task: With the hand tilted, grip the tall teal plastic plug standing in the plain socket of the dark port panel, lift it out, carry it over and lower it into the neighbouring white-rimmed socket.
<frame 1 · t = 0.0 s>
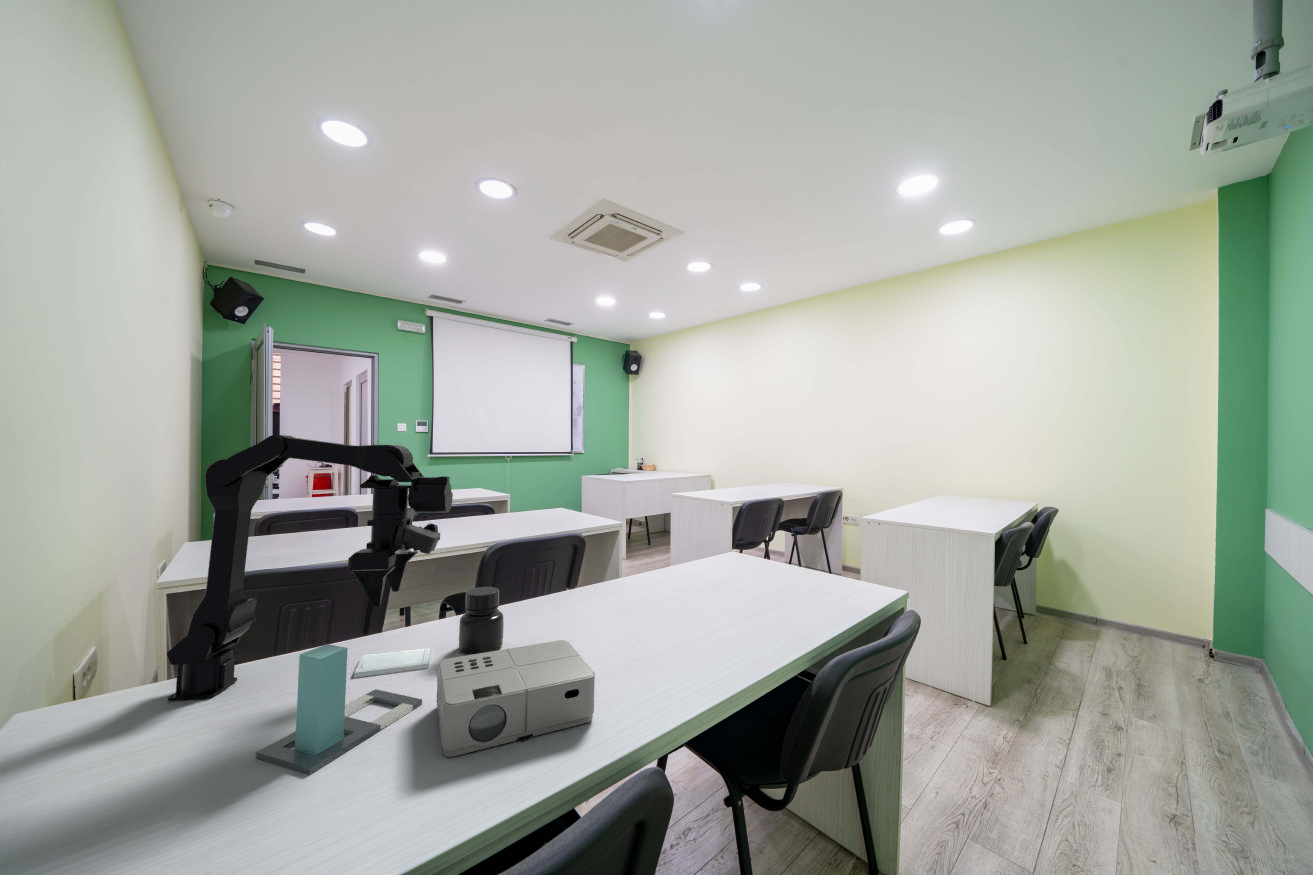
hand: (386, 598, 87), 15 cm above the table, tool pointing down, fingers open, 9 cm apart
port panel: (347, 728, 71), on the table
projector: (513, 716, 76), on the table
ink bottle: (480, 648, 102), on the table
plug: (319, 744, 67), resting in port panel
hard drive: (394, 667, 93), on the table
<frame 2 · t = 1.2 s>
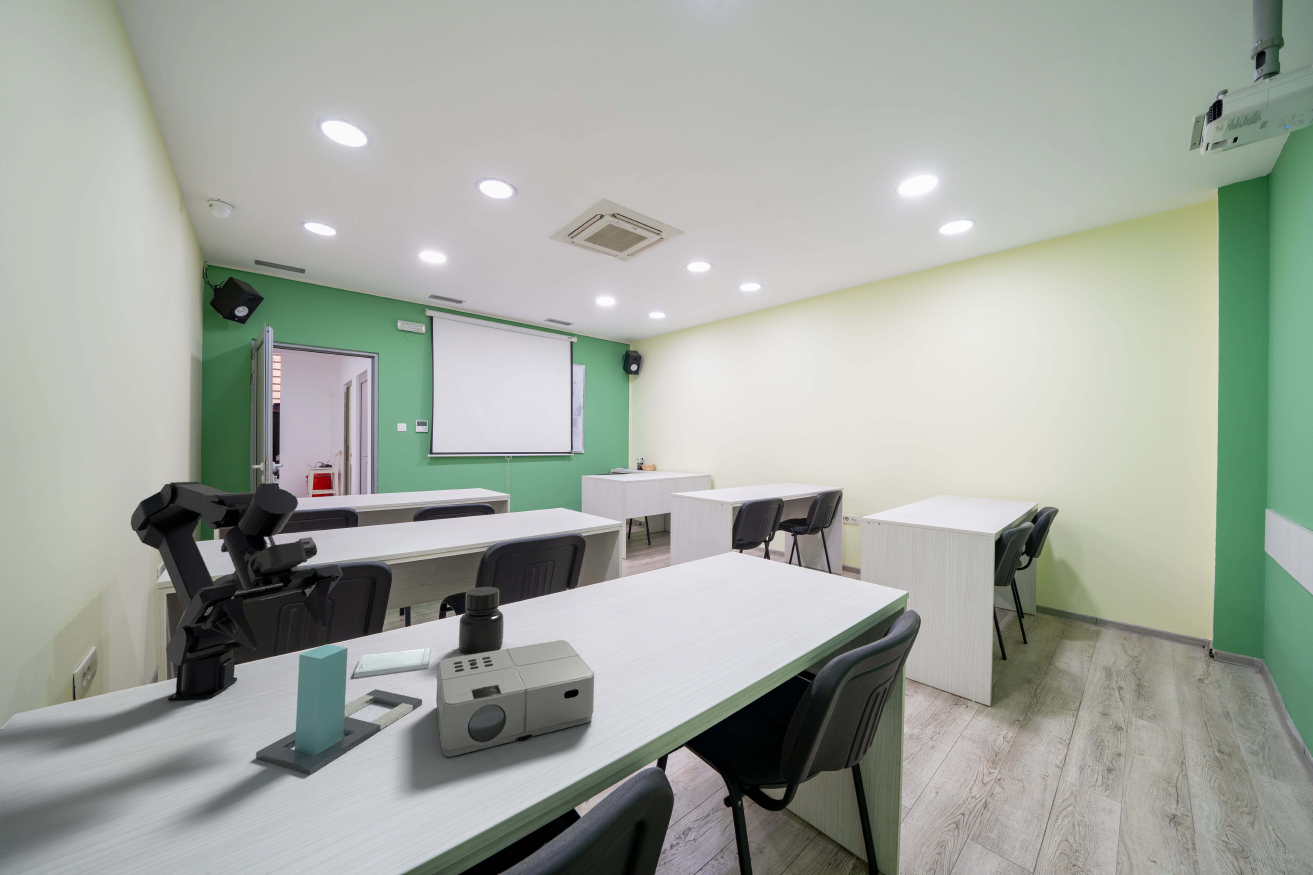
hand: (291, 637, 71), 13 cm above the table, tool tilted 45°, fingers open, 9 cm apart
nothing on the table moved.
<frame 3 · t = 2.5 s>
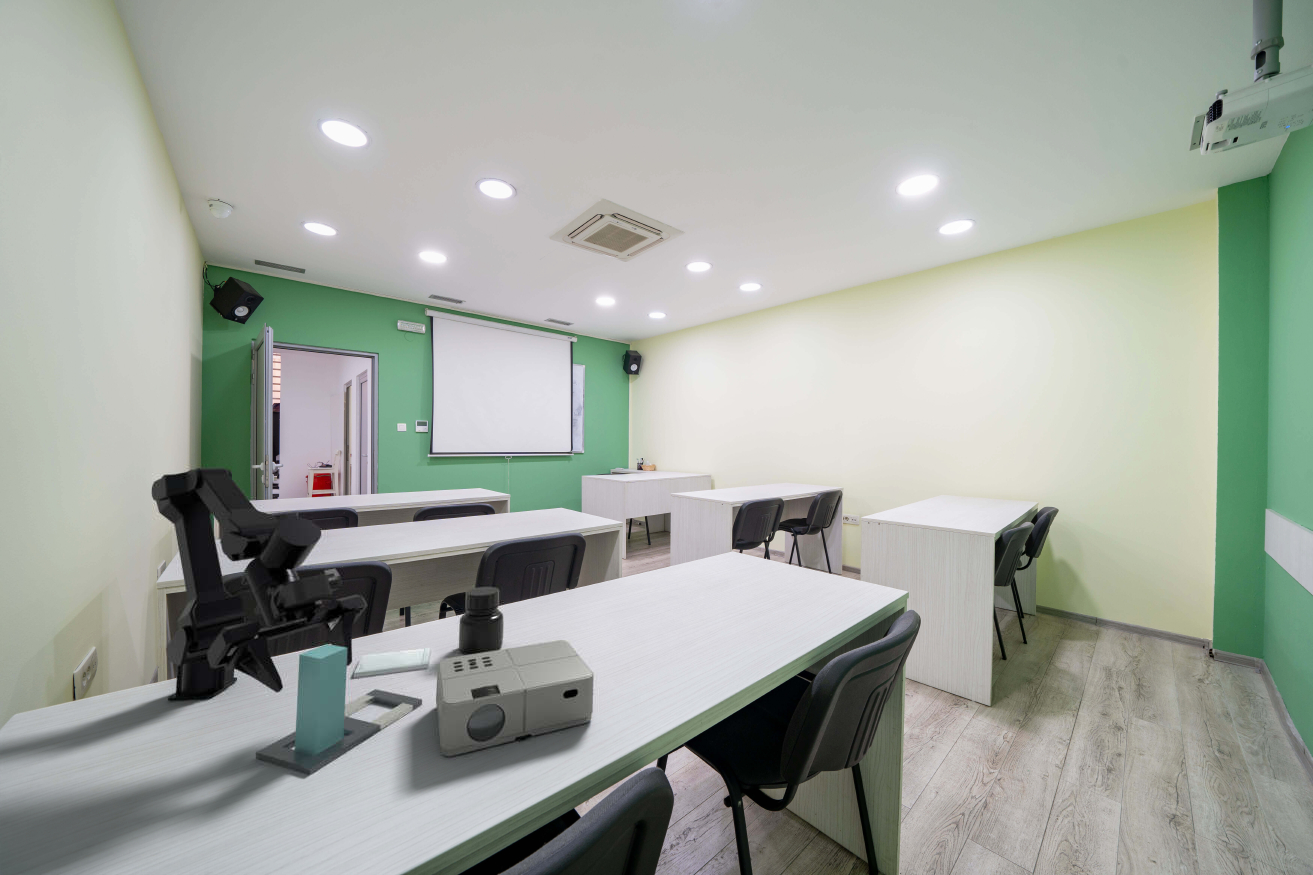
hand: (316, 676, 68), 9 cm above the table, tool tilted 45°, fingers open, 9 cm apart
nothing on the table moved.
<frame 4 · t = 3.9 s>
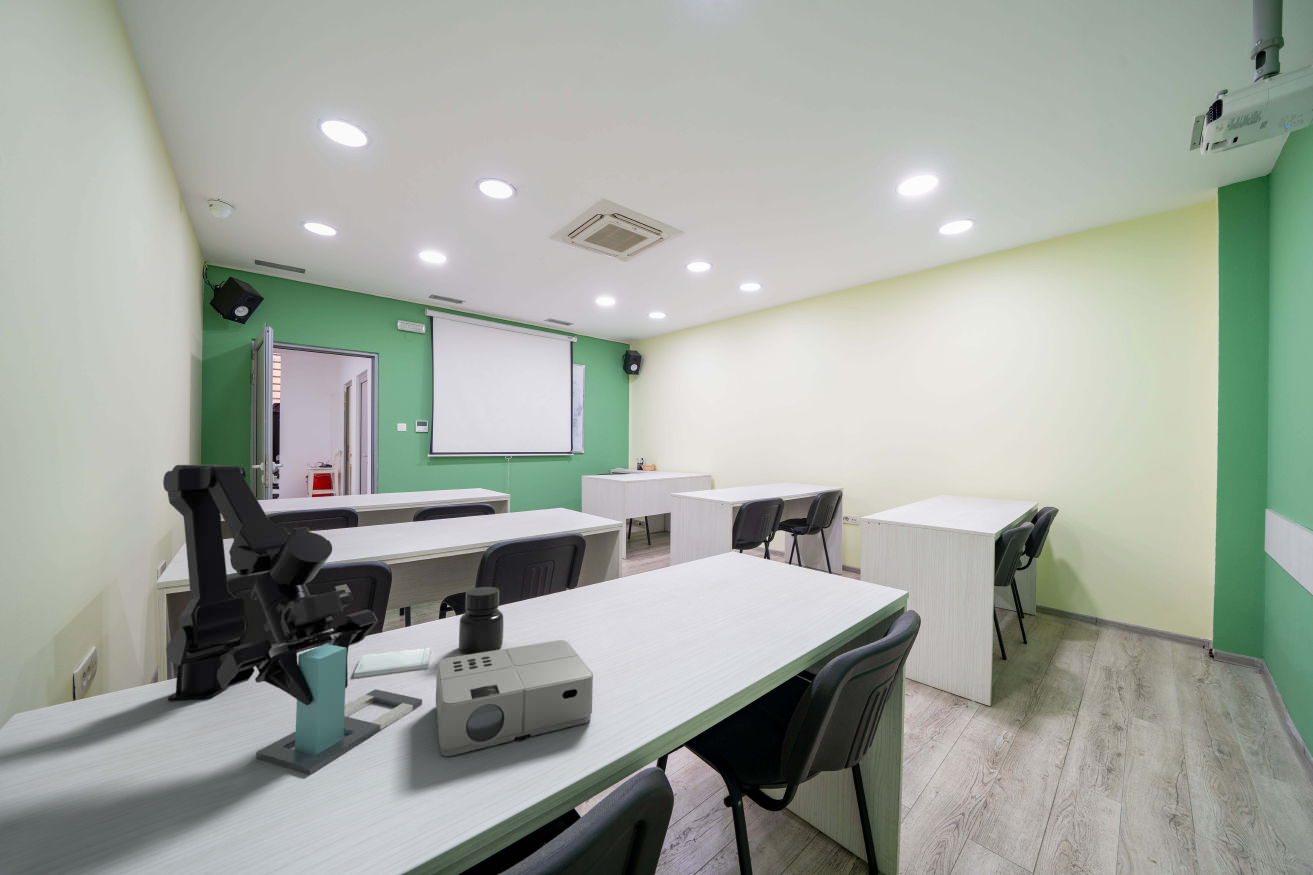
hand: (327, 695, 67), 7 cm above the table, tool tilted 45°, fingers closed on plug, 4 cm apart
plug: (319, 744, 67), resting in port panel, touching gripper
everything else where it was.
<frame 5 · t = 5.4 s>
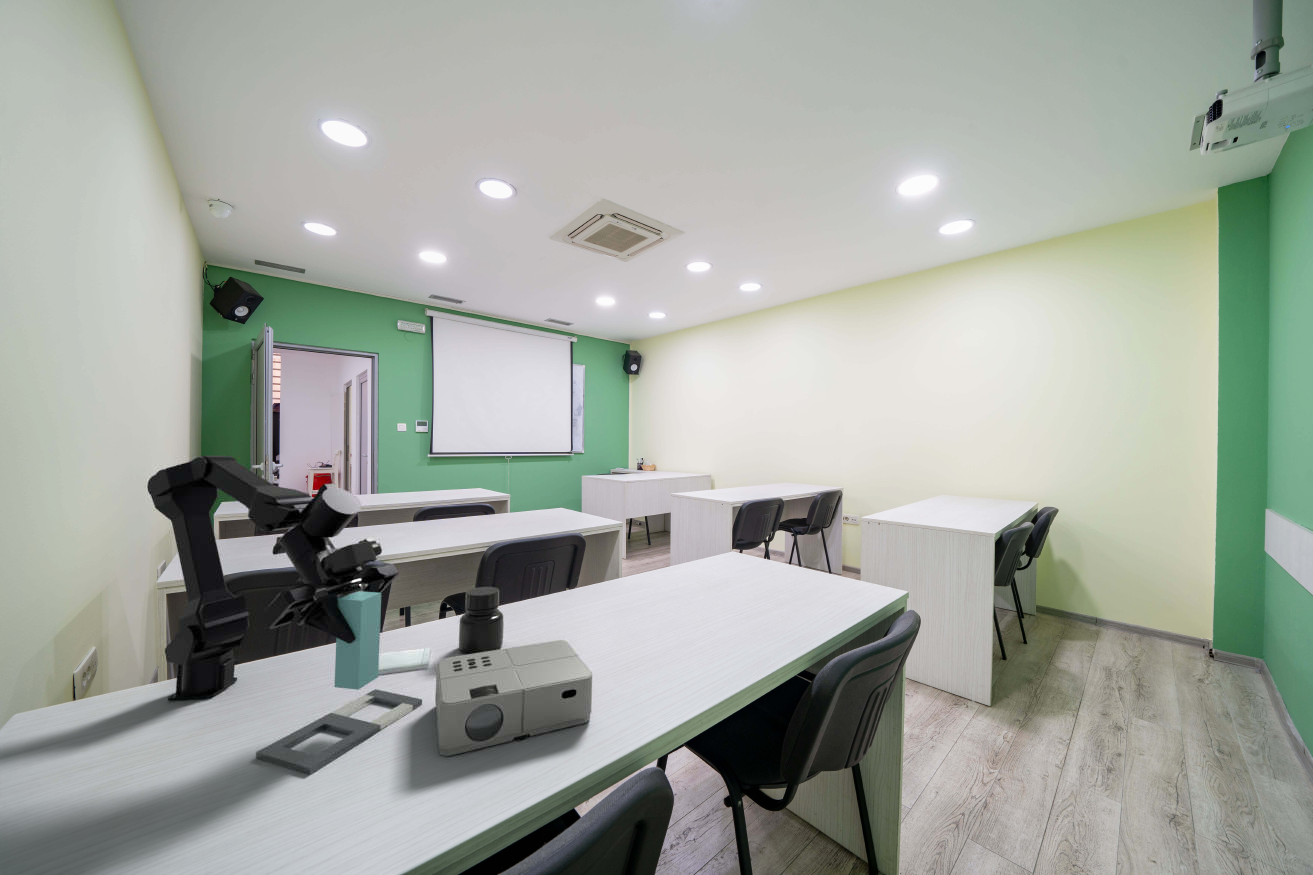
hand: (366, 635, 72), 13 cm above the table, tool tilted 45°, fingers closed on plug, 4 cm apart
plug: (356, 681, 72), point 6 cm above the table, touching gripper
everything else where it was.
when the fingers open (8 cm above the table, at t = 7.1 s): plug drops 1 cm, resting in port panel.
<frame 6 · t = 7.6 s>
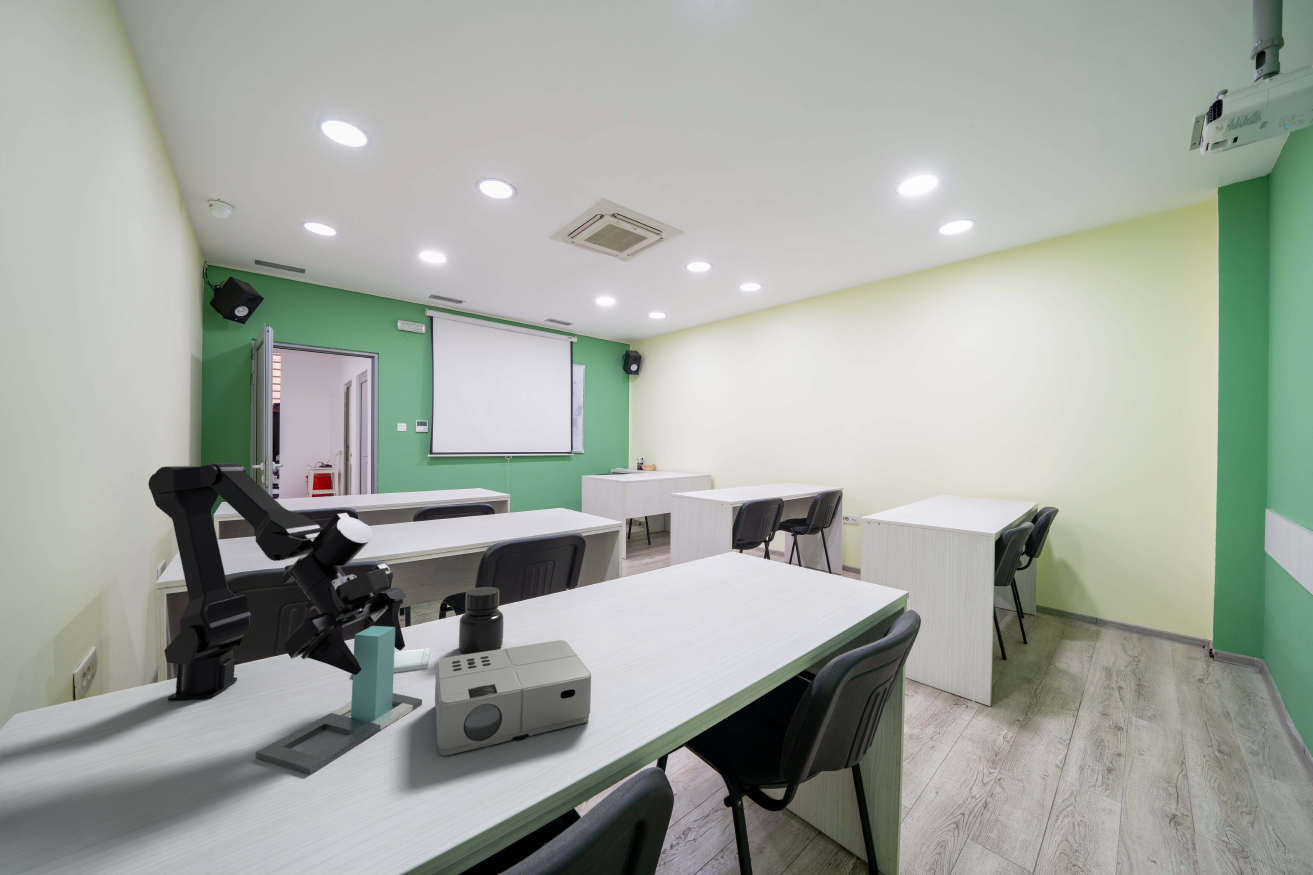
hand: (382, 659, 75), 9 cm above the table, tool tilted 45°, fingers open, 9 cm apart
plug: (371, 714, 75), resting in port panel
everything else where it was.
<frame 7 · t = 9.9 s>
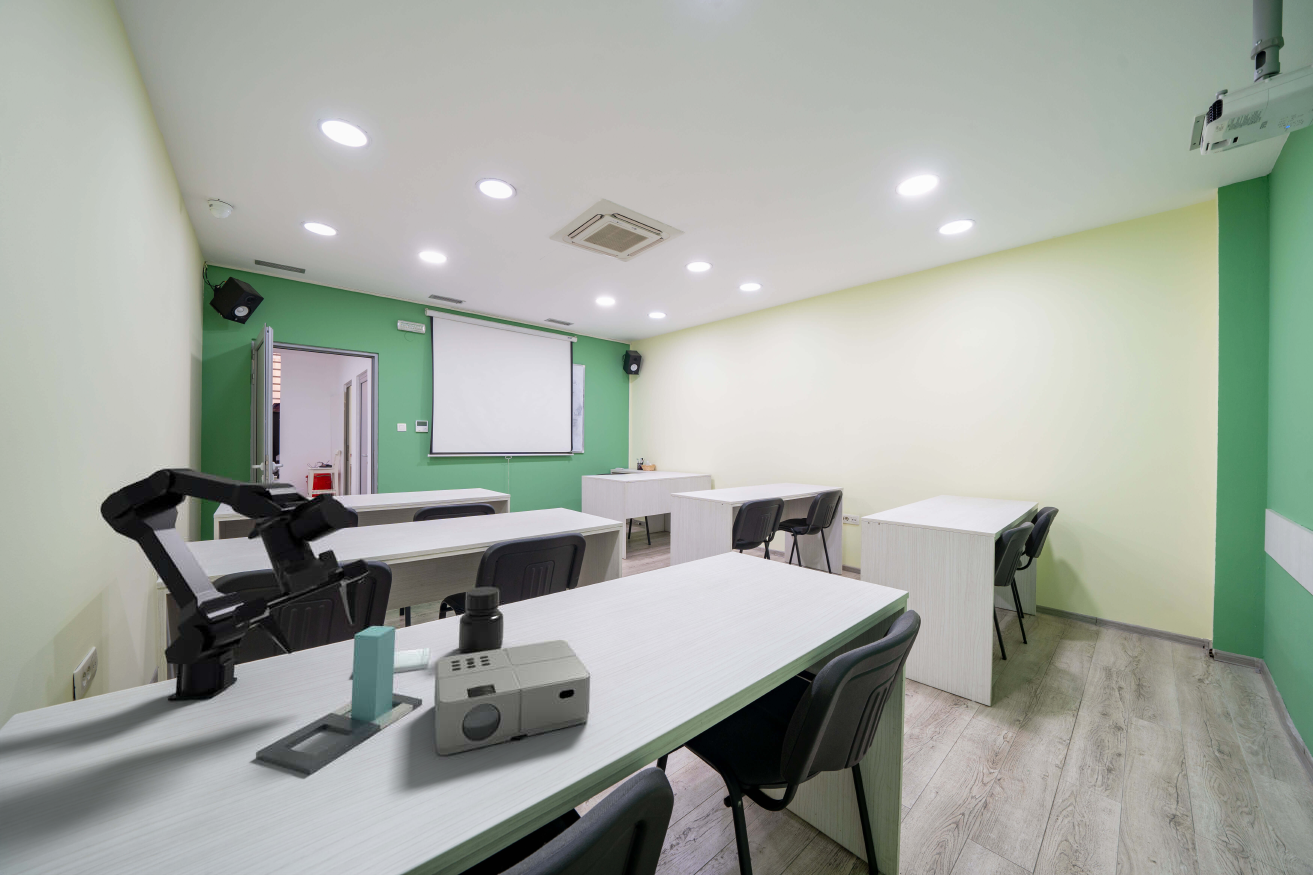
hand: (323, 638, 80), 10 cm above the table, tool tilted 25°, fingers open, 9 cm apart
nothing on the table moved.
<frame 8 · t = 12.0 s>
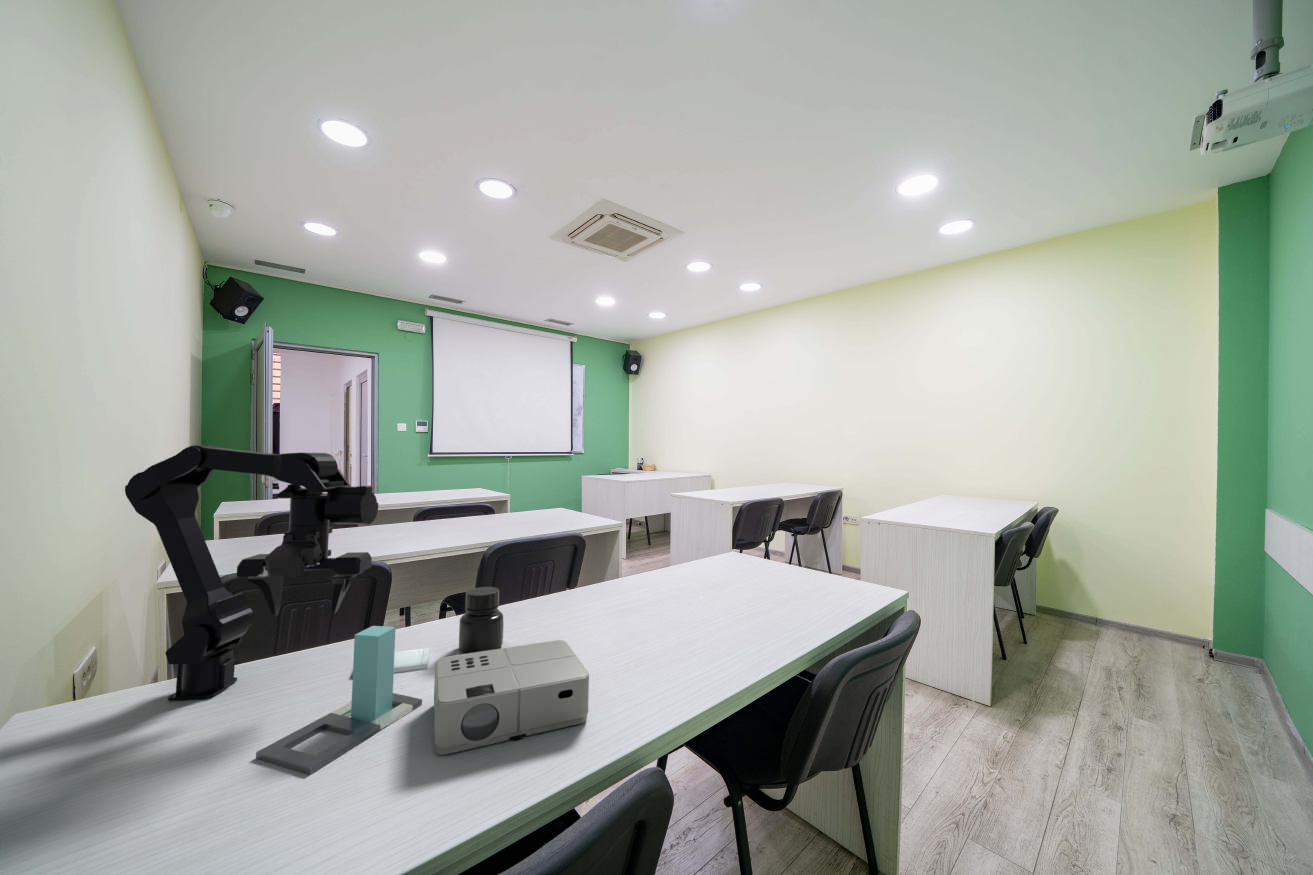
hand: (305, 613, 83), 13 cm above the table, tool pointing down, fingers open, 9 cm apart
nothing on the table moved.
at the end: plug 0.0 cm from the target spot, resting in port panel; plug tilted 0°; the gripper is holding nothing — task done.
